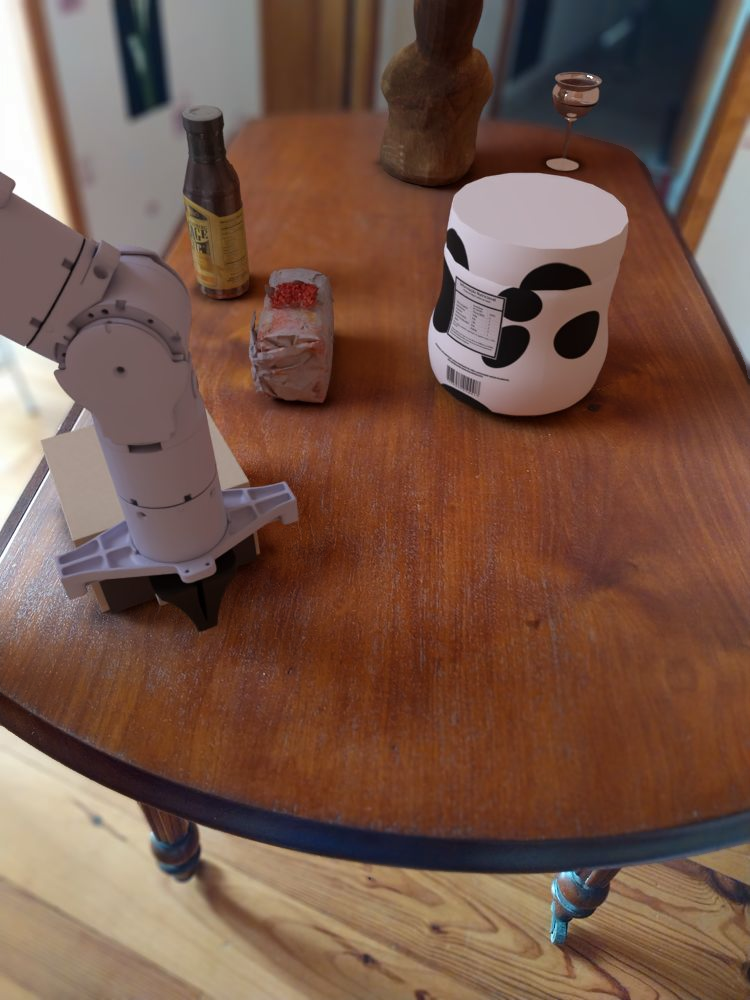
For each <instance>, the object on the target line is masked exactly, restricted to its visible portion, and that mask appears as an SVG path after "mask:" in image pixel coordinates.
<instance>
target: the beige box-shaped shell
mask: <svg viewBox="0 0 750 1000" xmlns="http://www.w3.org/2000/svg"><path fill="white" fill-rule="evenodd" d="M205 410H206V415H207V420H208V425H209V430H210V435H211V440H212V445H213V450H214V455H215V460H216V466H217V471H218V476H219V481H220V486H221V490H227V489H240V488H251V484H250V480H249V479H248V476H247V475H246V473H245V471H244V470H243V468H242V467H241V465H240V463H239V461H238V460H237V458H236V456H235V455H234V453H233V451H232V449H231V448H230V446H229V445H228V443H227V441H226V439H225V437H224V436H223V434H222V432H221V430H220V429H219V428H218V426H217V424H216V422H215V421H214V419H213V417H212V416H211V414H210V412H209V410H208V409H207V407H206V406H205ZM39 443H40V445H41V448H42V452H43V454H44V457H45V461H46V464H47V467H48V469H49V473H50V475H51V478H52V479H51V480H52V482H53V485H54V488H55V491H56V494H57V497H58V500H59V503H60V504H59V505H60V506H61V510H62V512H63V516H64V519H65V522H66V525H67V527H68V531H69V534H70V537H71V540H72V543H73V545H74V547H75V549H76V548H78V547H80V546H81V545H83V544H85V543H87V542H88V541H90V540H92V539H93V538H95V537H97V536H98V535H100V534H102V533H103V532H105V531H106V530H108V529H110V528H111V527H113V526H115V525H116V524H118V523H120V522H121V521H123V520H125V517H124V514H123V511H122V508H121V505H120V502H119V499H118V496H117V493H116V490H115V487H114V484H113V481H112V478H111V475H110V472H109V469H108V466H107V463H106V460H105V457H104V454H103V451H102V448H101V445H100V442H99V439H98V436H97V433H96V431H95V428H94V424H91V425H89V426H85V427H81V428H78V429H75V430H74V429H73V430H70V431H67V432H64V433H61V434H57V435H54V436H50V437H47V438H43V439H40V440H39ZM254 539H255V546H256V552H257V556H258V555H260V554H261V551H260V543H259V535H258V530H257V531H255V532H254ZM90 586H91V589H92V591H93V593H94V596H95V598H96V601H97V603H98V606H99V608H100V610H101V612H102V613H106V612H108V611H110V609H109V606H108V604H107V601H106V599H105V596H104V594H103V591H102V589H101V586H100V584H99V582H97V583H94V584H91V585H90Z"/></svg>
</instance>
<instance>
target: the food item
mask: <svg viewBox="0 0 750 1000" xmlns="http://www.w3.org/2000/svg"><path fill="white" fill-rule="evenodd" d="M330 280H331V277H330V276H328V275H326V274H324V273H322V272H321V271H317V270H313V269H308V268H303V267H294V268H283V269H276V270H273V271H272V272H271V273H270V277H269V279H268V284H267V283H266V284H264V291H265V293H266V295H265V296H264V300H263V301H264V303H263V309H262V310H261V312H260V315H259V321H258V324H257V325H256V320H257V314H256V309H254V310H253V312H252V313H253V314H252V319H251V322H250V323H251V324H250V332H249V347H248V356H249V360H250V363H251V368H250V371H251V379H252V380H253V385H254V391H255V392H256V394H257V395H258V396H259V397H260V398H262V396H264V397H265V398H274V399H278V400H279V399H280V400H284V401H296V402H308V403H313V404H314V403H317V404H323V403H324V401H325V399H326V397H327V394H328V390H329V386H330V381H331V375H332V369H333V355H334V344H335V338H334V334H335V329H334V328H335V316H334V304H333V303H334V302H335V300H334V297H333V295H334V294H333V289H332V285H331V282H330ZM256 326H257V327H256Z"/></svg>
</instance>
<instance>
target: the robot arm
mask: <svg viewBox="0 0 750 1000" xmlns="http://www.w3.org/2000/svg"><path fill="white" fill-rule="evenodd" d="M16 185H17V183H16V181H15V180H14V179H13V178H11V177H10V176H8V175H7V174H5V173H4V172H2V171H0V336H2V337H4V338H5V339H8V340H10V341H12V342H15V343H16V344H18V345H20V346H22V347H25V348H26V349H27V350H29V351H31V352H34V353H36V354H38V355H39V356H41V357H43V358H45V359H48V360H50V361H52V362H54V363H56V364H58V365H57V369H54V371H53V375H54V378H55V380H56V381H57V383H58V385H59V386H60V388H61V389H62V391H63V392H64V393H65V394H66V395H67V396H68V397H69V398H70V399H71V400H73V402H75V403H76V404H78V405H79V406H81V407H82V408H84V409H85V410H86V411H88V412H90V414H91V418H92V422H93V424H92V425H94V428H95V431H96V433H97V436H98V439H99V442H100V445H101V448H102V451H103V454H104V457H105V460H106V463H107V466H108V469H109V472H110V475H111V478H112V481H113V484H114V487H115V490H116V493H117V496H118V499H119V502H120V505H121V508H122V511H123V514H124V517H125V520H123V521H121V522H120V523H118V524H116V525H115V526H113V527H111V528H110V529H108V530H106V531H105V532H103V533H102V534H100V535H98V536H97V537H95V538H93V539H92V540H90V541H88V542H87V543H85V544H83V545H81V546H80V547H78V548H76V547H75V548H73V549H71V550H70V551H67V552H64V553H61V554H59V555H55V556H54V562H55V565H56V569H57V573H58V578H59V581H60V583H61V584H62V585H61V586H62V587H63V589H64V591H65V594H66V596H67V598H68V600H69V601H71V600H75V599H78V598H81V597H83V596H85V595H87V593H88V586H91V584H94V583H97V582H100V581H103V580H105V579H115V578H127V577H138V576H148V578H149V580H150V583H151V586H152V588H153V591H154V592H155V594H156V595H157V596H158V597H159V598H160V599H161V600H162V601H165V602H168V603H167V604H171V605H172V606H174V607H176V608H177V609H179V611H181V612H183V614H185V615H186V616H187V617H188V619H189V620H190V621H191V622H192V623H193V624H194V626H195V627H196V630H197V632H198V633H202V632H205V631H207V630H210V629H212V628H216V627H217V626H218V625H219V613H220V609H221V604H222V601H223V597H224V595H225V592H226V590H227V588H228V586H229V584H230V582H231V581H232V580H233V579H234V578H235V577H236V575H237V574H238V568H239V567H238V564H237V558H236V555H235V553H234V551H233V549H232V547H234V546H235V545H237V544H238V543H239V542H241V541H242V540H244V539H245V538H247V537H248V536H250V535H251V534H252V533H254V532H255V531H257V532H258V530H260V529H262V528H264V526H266V525H267V524H270V523H274V522H275V521H280V522H281V524H283V525H285V526H287V525H290V524H292V523H295V522H298V521H299V520H300V517H299V508H298V499H297V497H296V496H295V494H294V493H293V491H292V489H291V487H290V486H289V484H288V483H287V481H281V482H277V483H274V484H268V485H263V486H255V487H254V486H253V487H250V488H240V489H227V490H221V486H220V481H219V476H218V471H217V466H216V460H215V455H214V450H213V445H212V440H211V435H210V430H209V425H208V420H207V415H206V410H205V407H206V405H205V401H204V398H203V395H202V393H201V391H200V385H199V384H200V383H199V379H198V376H197V373H196V370H195V367H194V361H193V358H192V353H191V351H189V348H190V340H191V339H190V338H191V328H192V321H193V309H192V300H191V296H190V295H191V294H190V292H189V289H188V286H187V284H186V283H185V282H184V279H183V278H182V277H181V275H179V273H178V272H177V271H176V270H175V269H174V268H173V267H172V266H171V265H170V264H168V263H167V262H165V261H164V260H163V259H162V258H161V256H160V255H159V254H158V253H157V252H156V251H153V250H151V249H148V248H146V247H141V246H136V245H112V244H110V243H109V242H107V241H105V240H104V239H103V240H100V241H99V242H98V241H96V240H95V239H93V238H88V237H85V236H84V235H83V234H81V233H80V232H78V231H76V230H75V229H73V228H71V227H69V225H66V224H65V223H63V222H62V221H60V220H59V219H57V218H55V217H53V216H52V215H51V214H50V213H49V214H48V213H47V212H45V211H44V210H42V209H40V208H39V207H37V206H35V205H34V204H32V203H31V202H29V201H27V200H26V199H24V198H23V197H21V196H19V195H18V194H16V193H15V192H14V190H15V188H16Z"/></svg>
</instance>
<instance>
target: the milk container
mask: <svg viewBox="0 0 750 1000" xmlns="http://www.w3.org/2000/svg"><path fill="white" fill-rule="evenodd" d="M627 212H628V211H627V208H626V206H625V205H623V203H622V202H620V201H619V199H618V198H616V196H614V195H613V194H612V193H610V192H608V191H606V190H604V189H602V188H600V187H598V186H596V185H594V184H592V183H588V182H586V181H582V180H579V179H576V178H572V177H568V176H562V175H555V174H549V173H541V172H508V173H502V174H495V175H489V176H485V177H482V178H479V179H476V180H474V181H472V182H469V183H467V184H465V185H464V186H463V187H461V188H460V190H458V191H457V192H456V193H455V194H454V195H453V199H452V202H451V207H450V212H449V216H448V223H447V229H446V238H445V240H446V241H445V244H444V246H443V247H444V249H443V264H442V265H443V267H442V281H441V288H440V292H439V295H438V297H437V300H436V303H435V306H434V309H433V311H432V314H431V317H430V319H429V320H430V321H429V326H428V333H427V345H428V346H427V347H428V355H429V362H430V366H431V369H432V372H433V374H434V376H435V379H436V380H437V381H438V383H439V384H440V386H441V387H442V388H443V389H444V390H445V391H446V392H447V393H448V394H450V395H451V396H452V397H453V398H455V399H456V400H457V401H459V402H461V403H463V404H465V405H467V406H470V407H472V408H473V409H476V410H479V411H481V412H483V413H488V414H492V415H493V414H494V415H497V416H503V417H507V418H538V417H542V416H549V415H553V414H556V413H559V412H562V411H565V410H567V409H570V408H571V407H572V406H574V405H575V404H577V403H579V402H580V401H581V400H582V399H583V398H585V397H586V396H587V394H588V393H589V392H591V390H592V388H593V387H594V386H595V384H596V381H597V380H598V377H599V376H600V374H601V371H602V369H603V367H604V364H605V361H606V357H607V353H608V348H609V347H608V346H609V324H608V319H609V318H608V315H609V307H610V303H611V299H612V295H613V291H614V288H615V285H616V282H617V278H618V276H619V272H620V266H621V264H620V263H621V261H622V259H623V256H624V253H625V250H626V247H627V240H628V233H629V217H628V213H627Z"/></svg>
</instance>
